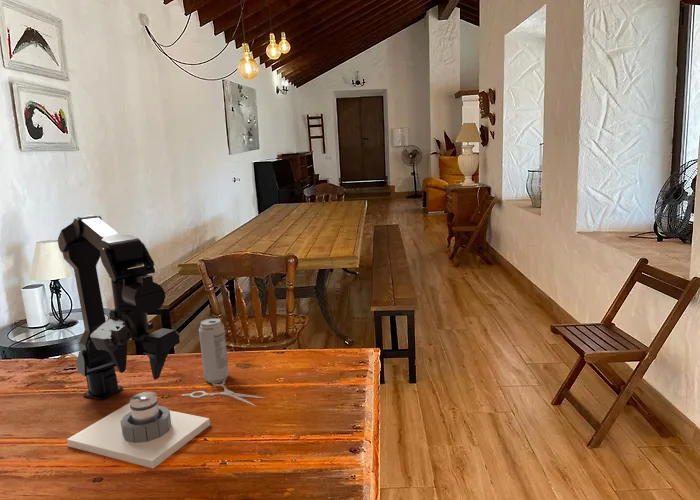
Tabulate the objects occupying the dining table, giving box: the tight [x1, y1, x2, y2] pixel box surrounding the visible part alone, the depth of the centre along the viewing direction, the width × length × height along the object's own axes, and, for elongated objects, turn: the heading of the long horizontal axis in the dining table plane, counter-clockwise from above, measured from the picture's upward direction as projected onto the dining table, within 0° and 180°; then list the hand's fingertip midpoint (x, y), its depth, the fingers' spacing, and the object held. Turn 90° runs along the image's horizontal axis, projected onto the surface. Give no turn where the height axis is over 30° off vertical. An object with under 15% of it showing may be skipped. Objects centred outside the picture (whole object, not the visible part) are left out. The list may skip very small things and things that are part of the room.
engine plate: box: [66, 402, 211, 469], centre depth 107 cm, size 22×16×4 cm
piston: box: [129, 391, 160, 425], centre depth 106 cm, size 5×5×7 cm
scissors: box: [180, 380, 265, 407], centre depth 124 cm, size 11×1×20 cm
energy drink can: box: [198, 317, 230, 384], centre depth 131 cm, size 6×6×15 cm
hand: (139, 375), depth 109 cm, fingers open, 9 cm apart
